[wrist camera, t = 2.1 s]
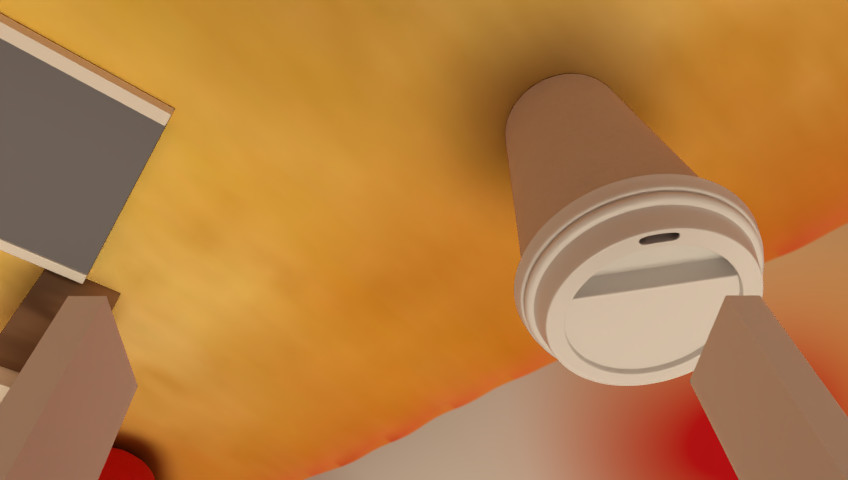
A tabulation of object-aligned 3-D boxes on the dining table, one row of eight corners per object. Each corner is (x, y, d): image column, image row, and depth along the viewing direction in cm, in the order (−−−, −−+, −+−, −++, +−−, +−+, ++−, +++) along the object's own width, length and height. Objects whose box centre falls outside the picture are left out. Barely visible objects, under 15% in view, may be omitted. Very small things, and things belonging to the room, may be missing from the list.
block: (18, 325, 42) (-59, 440, 35) (48, 262, 39) (-30, 374, 32) (87, 351, 44) (27, 466, 37) (121, 293, 41) (63, 405, 34)
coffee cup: (679, 65, 33) (844, 233, 21) (607, 212, 39) (706, 411, 27) (507, 26, 31) (580, 183, 19) (458, 185, 37) (491, 384, 25)
